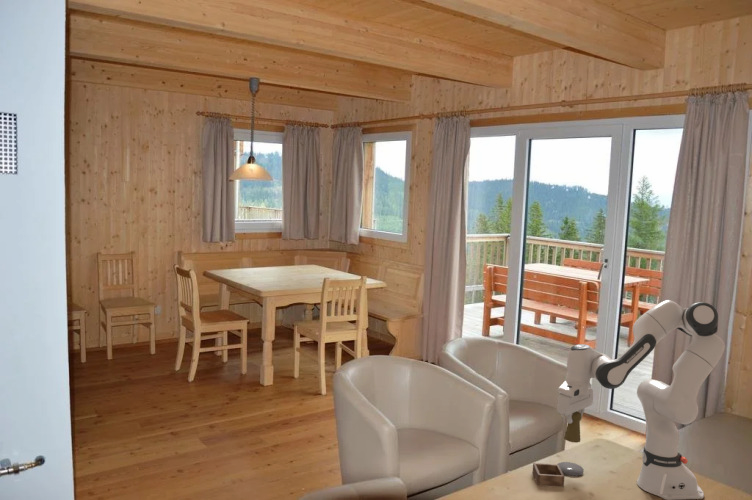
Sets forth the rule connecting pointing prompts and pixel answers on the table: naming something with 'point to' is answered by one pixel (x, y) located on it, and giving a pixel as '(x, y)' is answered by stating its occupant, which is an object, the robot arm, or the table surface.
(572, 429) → the cork
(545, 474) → the walnut holder
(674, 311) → the robot arm
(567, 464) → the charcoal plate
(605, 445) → the table surface
